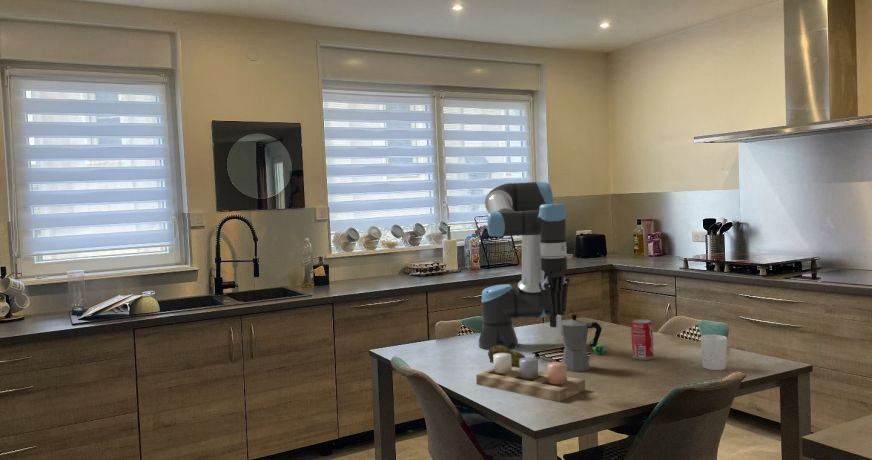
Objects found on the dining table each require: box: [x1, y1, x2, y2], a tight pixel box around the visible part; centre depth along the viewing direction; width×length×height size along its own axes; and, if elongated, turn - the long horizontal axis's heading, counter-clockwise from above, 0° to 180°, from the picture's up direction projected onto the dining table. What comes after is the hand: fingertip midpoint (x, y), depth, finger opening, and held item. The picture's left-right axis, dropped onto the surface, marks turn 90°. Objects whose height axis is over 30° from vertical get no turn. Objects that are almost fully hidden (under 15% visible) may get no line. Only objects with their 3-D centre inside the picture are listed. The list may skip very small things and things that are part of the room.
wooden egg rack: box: [475, 367, 586, 403], centre depth 201 cm, size 30×14×3 cm, turn 47°
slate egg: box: [519, 356, 539, 378], centre depth 201 cm, size 6×6×5 cm
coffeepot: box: [561, 313, 603, 373], centre depth 220 cm, size 15×9×18 cm, turn 68°
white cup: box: [700, 334, 728, 371], centre depth 215 cm, size 8×8×10 cm
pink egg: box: [546, 361, 568, 384], centre depth 194 cm, size 6×6×5 cm
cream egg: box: [492, 353, 512, 373], centre depth 208 cm, size 6×6×5 cm
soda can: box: [630, 318, 655, 361], centre depth 230 cm, size 7×7×13 cm
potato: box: [487, 346, 526, 368], centre depth 223 cm, size 8×13×8 cm, turn 90°
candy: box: [589, 338, 606, 355], centre depth 243 cm, size 12×3×4 cm
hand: (556, 337), depth 194 cm, fingers closed
